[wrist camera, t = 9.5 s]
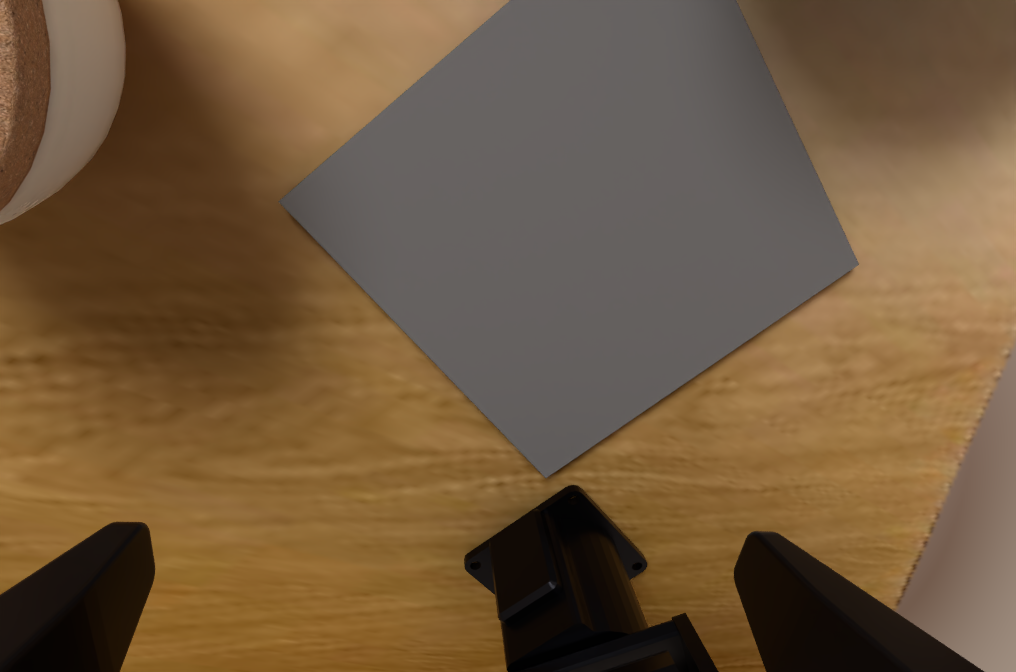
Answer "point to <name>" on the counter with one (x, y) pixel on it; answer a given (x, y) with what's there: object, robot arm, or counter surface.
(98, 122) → the lidded jar
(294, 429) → the counter surface
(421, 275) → the mat
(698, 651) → the robot arm
